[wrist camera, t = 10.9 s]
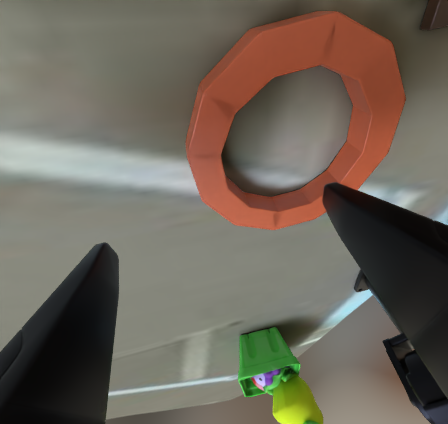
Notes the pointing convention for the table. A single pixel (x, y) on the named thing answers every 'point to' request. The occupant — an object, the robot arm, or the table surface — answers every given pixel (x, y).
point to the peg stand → (435, 15)
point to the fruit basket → (276, 377)
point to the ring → (284, 64)
